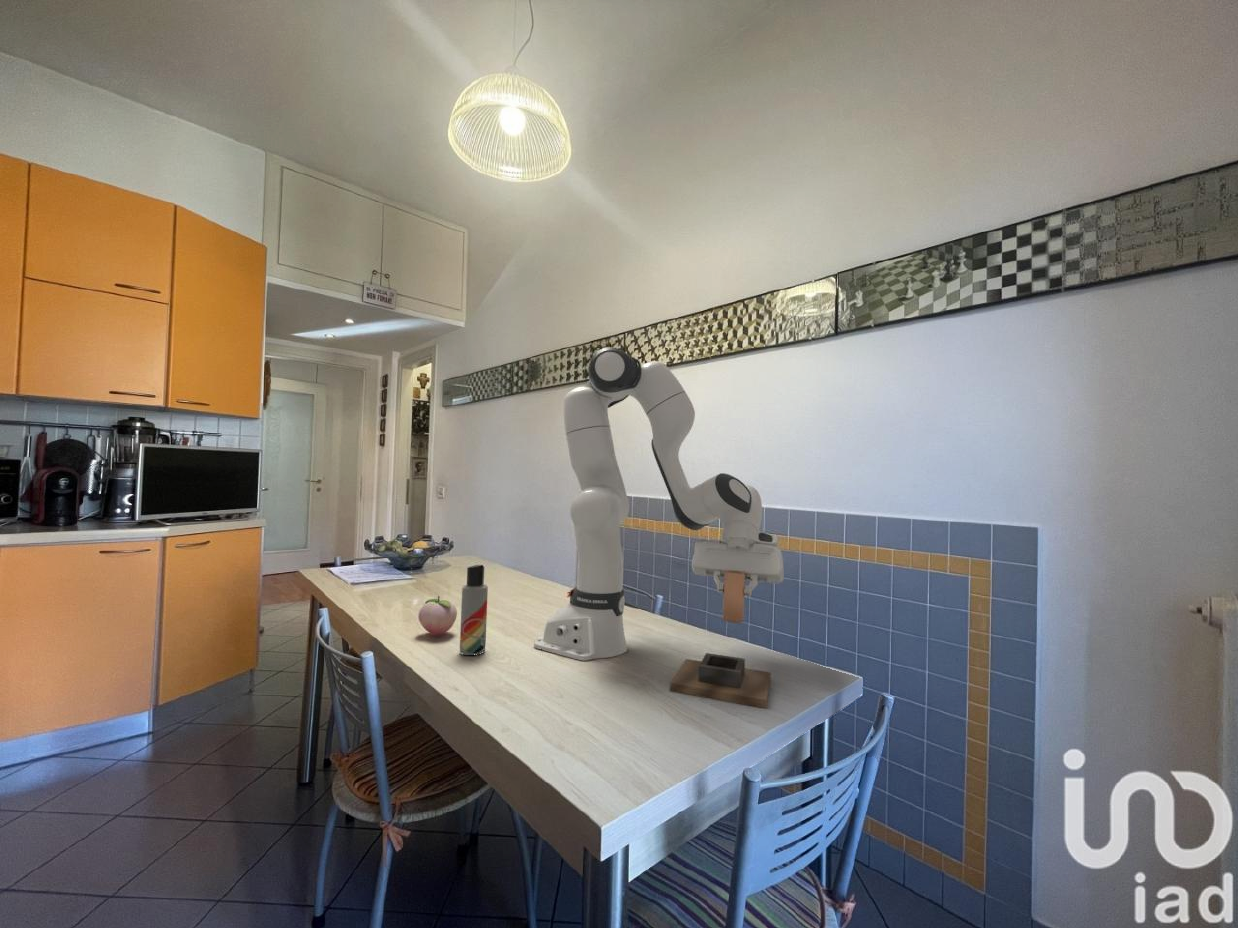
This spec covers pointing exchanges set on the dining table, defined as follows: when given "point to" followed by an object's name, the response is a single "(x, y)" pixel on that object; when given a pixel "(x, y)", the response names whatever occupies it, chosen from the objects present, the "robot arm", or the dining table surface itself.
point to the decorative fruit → (437, 616)
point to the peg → (733, 597)
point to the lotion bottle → (474, 612)
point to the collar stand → (723, 680)
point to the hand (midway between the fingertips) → (733, 593)
